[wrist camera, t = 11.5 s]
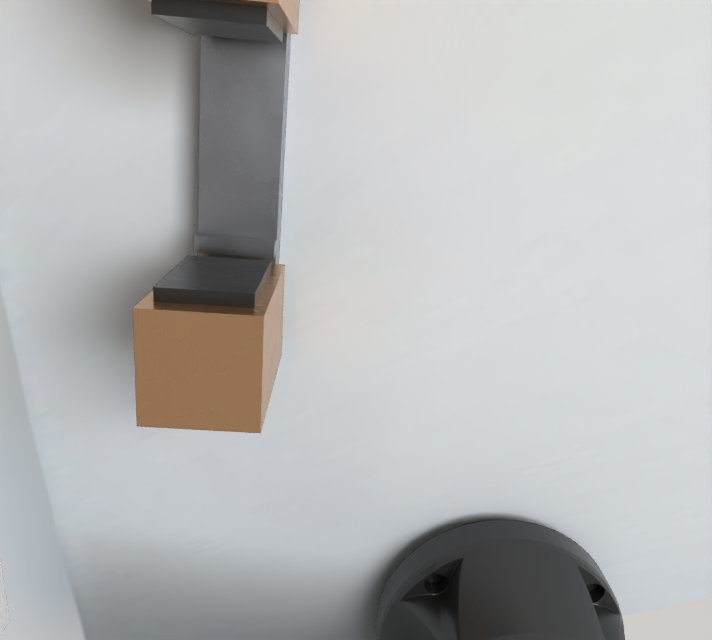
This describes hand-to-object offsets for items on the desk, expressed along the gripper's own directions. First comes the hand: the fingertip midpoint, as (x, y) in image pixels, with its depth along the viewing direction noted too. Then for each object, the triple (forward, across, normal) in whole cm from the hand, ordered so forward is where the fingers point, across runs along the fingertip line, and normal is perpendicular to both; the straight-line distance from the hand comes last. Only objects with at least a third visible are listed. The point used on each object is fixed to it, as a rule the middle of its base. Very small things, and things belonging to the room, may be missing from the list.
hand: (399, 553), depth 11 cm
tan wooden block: (+24, -7, -3) cm, 25 cm away
